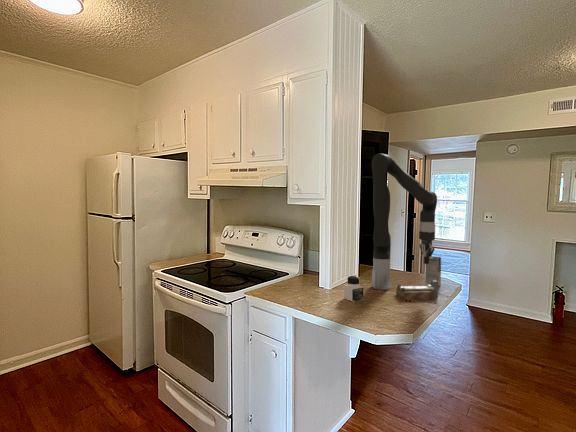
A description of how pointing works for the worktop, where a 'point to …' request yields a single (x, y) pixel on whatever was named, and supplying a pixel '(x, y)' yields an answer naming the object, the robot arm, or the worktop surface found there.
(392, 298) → the worktop surface
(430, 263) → the coffee box
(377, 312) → the worktop surface
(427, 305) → the worktop surface
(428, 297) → the walnut block
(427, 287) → the clamp strap
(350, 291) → the medicine bottle
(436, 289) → the dark grey block
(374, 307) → the worktop surface
